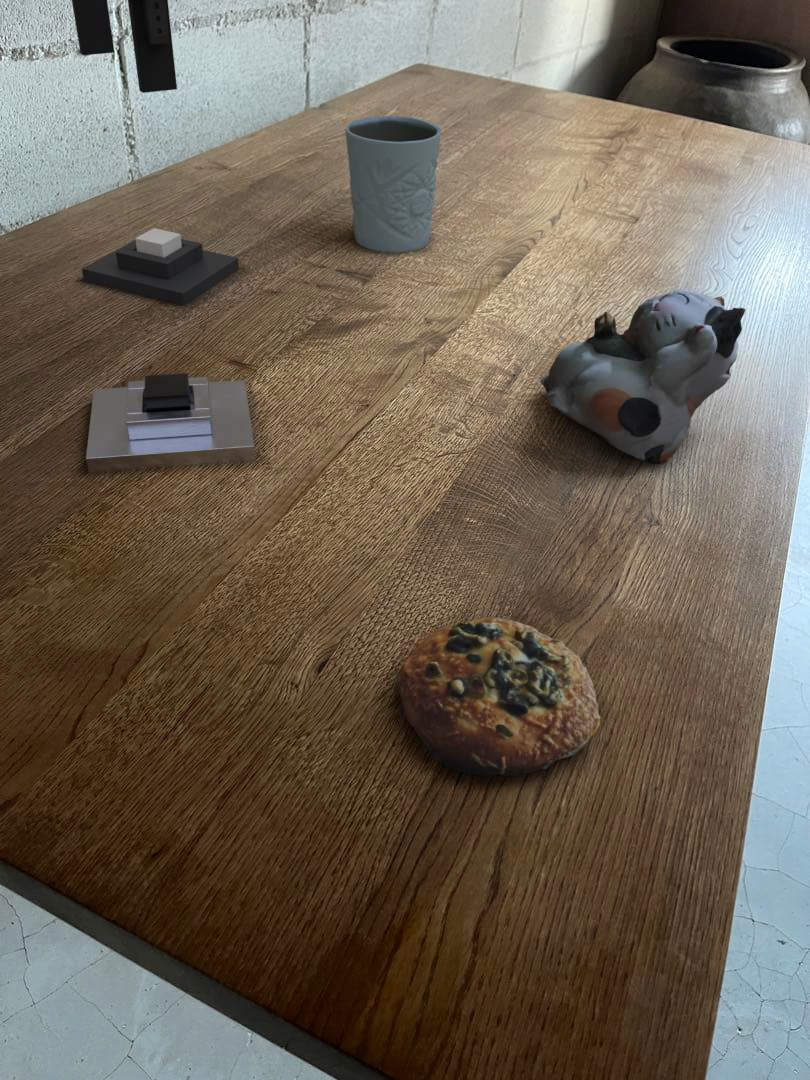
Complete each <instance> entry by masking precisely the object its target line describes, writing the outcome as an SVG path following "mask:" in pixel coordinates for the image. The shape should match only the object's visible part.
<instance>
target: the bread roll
mask: <svg viewBox="0 0 810 1080" xmlns="http://www.w3.org/2000/svg"><path fill="white" fill-rule="evenodd" d="M398 689H399V695H400V700H401V708H402V712H403V713H404V716H405V718H406V720H407V722H408V723H409V725H410V726H412V727H413V728H414V730H415V732H416V734H417V736H418V739H419V740H420V741H421V743H422V744H423V745H424V746H425V747H426V748H427V750H428V752H429V753H430V754H431V756H432V758H433V760H434V761H438V763H439V764H440V765H443V767H444V768H449V769H452V770H454V771H456V772H460V773H464V774H471V775H476V776H482V777H485V778H486V777H487V778H491V777H492V778H493V777H495V776H496V775H499V776H502V777H510V776H514V777H516V776H518V775H519V776H523V775H525V774H526V775H528V774H529V773H534V772H537V771H540V770H545V769H546V770H547V769H548V768H550V767H551V766H552V765H553V764H554V763H555V762H556V761H558V760H561V759H565V758H566V759H567V758H570V757H572V756H574V755H576V754H577V753H579V752H580V750H581V751H582V750H583V748H584V747H586V745H588V744H589V741H590V739H591V738H592V737H593V736H594V735H595V734H596V732H597V731H598V729H599V727H600V726H601V721H600V720H601V718H602V716H600V714H599V703H598V702H597V695H596V691H595V688H594V683H593V680H592V678H591V677H590V674H589V672H588V668H587V667H586V666H585V665H584V663H583V662H582V660H581V658H580V657H579V656H578V655H576V653H575V652H574V651H573V650H571V649H569V647H567V646H565V644H564V642H563V641H562V640H559V639H556V638H554V639H553V638H552V637H550V636H548V635H546V634H545V633H542V632H540V631H539V630H538V629H537V628H535V627H534V626H531V625H528V624H523V623H522V622H519V621H515V620H512V619H509V618H508V619H505V618H501V617H480V618H477V619H475V620H471V621H466V622H460V623H451V624H448V625H446V626H444V627H441V628H438V629H436V630H435V631H434V632H432V633H430V634H429V635H428V636H427V637H425V638H423V639H421V640H419V641H418V642H416V646H415V647H414V650H413V651H412V652H411V653H410V654H409V656H408V658H407V659H406V660H405V661H404V663H403V664H402V668H401V670H400V673H399V686H398Z"/></svg>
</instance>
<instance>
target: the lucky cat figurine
mask: <svg viewBox="0 0 810 1080" xmlns="http://www.w3.org/2000/svg"><path fill="white" fill-rule="evenodd" d="M725 303H726V302H725V299H724V298H723V297H722V296H716V297H710V296H709V295H707V294H706V293H701V292H699V291H689V290H685V289H682V288H679V289H676V290H673V291H672V292H671V291H669V292H667V293H665V294H661V295H657V296H653V297H652V298H648V299H646V300H645V301H643V302H642V303H641V304H640V305H639V306H638V307H637V309H636V310H635V311H634V312H633V315H632V317H631V319H630V323H629V326H628V328H627V329H625V330H624V331H623V333H622V334H621V333H619V332H617V331H618V329H617V322H616V318H615V316H614V315H613V314H610V313H609V312H608V311H604V312H603V313H602V314H601V315H600V316H598V317H596V318H595V319H594V322H593V323H594V326H593V328H594V333H593V335H592V336H590V337H587V338H586V340H585V341H581V342H573V343H571V344H569V345H568V346H567V347H565V348H564V349H563V350H561V351H560V352H559V353H558V355H557V356H555V357H556V358H555V359H554V361H553V363H552V364H551V366H550V367H549V370H548V375H544V376H542V377H541V378H540V380H539V383H540V384H541V385H542V387H544V389H545V392H546V394H545V396H543V399H546V401H547V402H548V403H549V404H550V406H551V407H553V408H555V409H556V410H558V411H559V413H561V414H562V415H564V416H566V417H567V418H570V419H571V420H573V421H574V422H576V423H578V424H580V425H582V426H583V427H585V428H587V429H589V430H590V431H591V432H594V433H595V434H597V435H599V436H601V437H602V438H603V439H604V440H606V442H607V443H609V444H610V445H611V446H612V447H614V448H615V449H617V450H619V451H620V452H622V453H625V454H626V455H628V456H629V455H630V456H631V457H634V458H636V459H638V460H641V461H646V460H648V459H649V460H650V461H651V463H652V464H656V463H658V464H662V463H663V462H665V461H667V460H668V459H670V458H672V457H673V456H674V455H675V454H676V453H677V451H678V450H679V448H680V447H681V445H682V443H683V441H684V439H685V438H686V435H687V433H688V431H689V428H690V426H691V425H690V424H691V419H692V417H693V415H694V414H695V412H696V411H697V409H698V408H699V407H700V406H701V405H702V404H703V403H704V402H705V401H706V400H707V399H708V398H709V397H710V396H712V395H713V394H714V393H716V391H718V390H720V389H722V388H723V387H724V386H725V385H726V384H727V383H728V381H729V380H730V378H731V377H732V374H731V367H732V366H733V365H734V364H735V362H736V361H737V358H738V350H739V342H738V338H739V336H740V335H741V333H742V330H743V326H742V319H743V317H744V315H745V313H746V308H744V307H732V309H727V308H725Z"/></svg>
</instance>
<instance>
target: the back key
mask: <svg viewBox="0 0 810 1080" xmlns="http://www.w3.org/2000/svg"><path fill="white" fill-rule="evenodd" d="M181 236H182V235H181V233H179V232H173V231H168V230H164V229H160V228H157V227H156V228H155V227H154V228H151V229H150V230H148V231H146V232H144V233H142V234H141V235H139V236H136V237H135V239H134V240H136V247H137V251H138V252H142V253H146V254H151V255H155V256H159V257H164V258H165V257H166V256H168V255H170V254H171V253H173V252H175V251H176V250H178V249H180V248H182V244H181V239H182V237H181Z"/></svg>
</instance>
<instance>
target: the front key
mask: <svg viewBox="0 0 810 1080" xmlns="http://www.w3.org/2000/svg"><path fill="white" fill-rule="evenodd" d="M188 378H189V373H187V372H186V373H185V372H184V373H167V374H152V375H144V380H145V392H144V398H145V404H146V411H147V413H151V412H166V411H181V410H191V406H190V388H189V379H188Z"/></svg>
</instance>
